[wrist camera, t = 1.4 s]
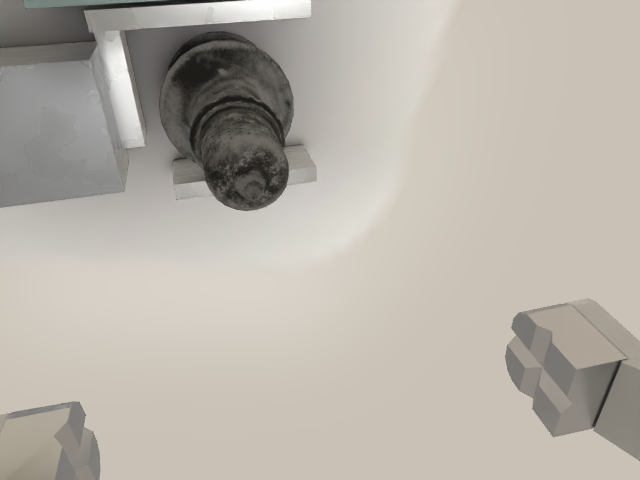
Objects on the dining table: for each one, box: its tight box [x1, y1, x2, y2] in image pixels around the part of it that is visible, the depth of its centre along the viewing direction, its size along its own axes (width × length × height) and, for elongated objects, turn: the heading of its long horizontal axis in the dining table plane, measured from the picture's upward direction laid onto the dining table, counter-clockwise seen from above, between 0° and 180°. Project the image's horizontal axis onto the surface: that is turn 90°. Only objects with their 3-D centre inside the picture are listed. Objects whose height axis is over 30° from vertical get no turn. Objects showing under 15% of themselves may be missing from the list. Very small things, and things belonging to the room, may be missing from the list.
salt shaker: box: [159, 32, 293, 211], centre depth 21 cm, size 6×6×12 cm
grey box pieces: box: [0, 0, 316, 208], centre depth 23 cm, size 15×9×4 cm, turn 91°
